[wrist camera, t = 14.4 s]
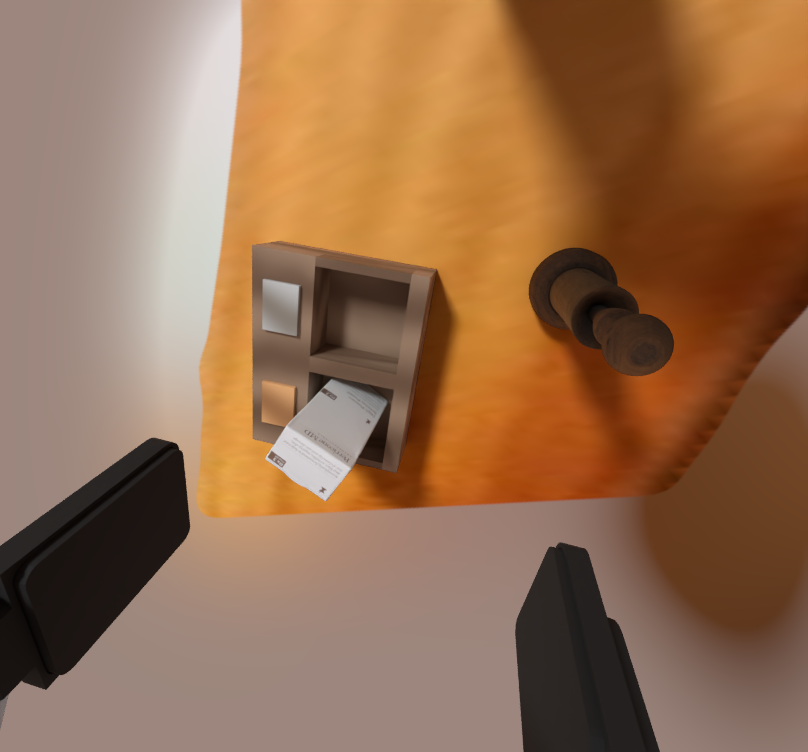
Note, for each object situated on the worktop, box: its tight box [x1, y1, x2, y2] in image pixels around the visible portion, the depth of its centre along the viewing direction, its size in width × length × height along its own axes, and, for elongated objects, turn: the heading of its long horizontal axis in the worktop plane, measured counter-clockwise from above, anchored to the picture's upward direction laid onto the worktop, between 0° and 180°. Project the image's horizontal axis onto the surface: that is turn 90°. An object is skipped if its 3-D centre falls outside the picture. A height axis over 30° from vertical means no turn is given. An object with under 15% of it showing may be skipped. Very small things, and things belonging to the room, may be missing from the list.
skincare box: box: [266, 377, 388, 501], centre depth 36 cm, size 6×4×12 cm
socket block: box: [252, 241, 437, 473], centre depth 38 cm, size 19×15×5 cm
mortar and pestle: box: [529, 248, 674, 376], centre depth 26 cm, size 7×6×18 cm
